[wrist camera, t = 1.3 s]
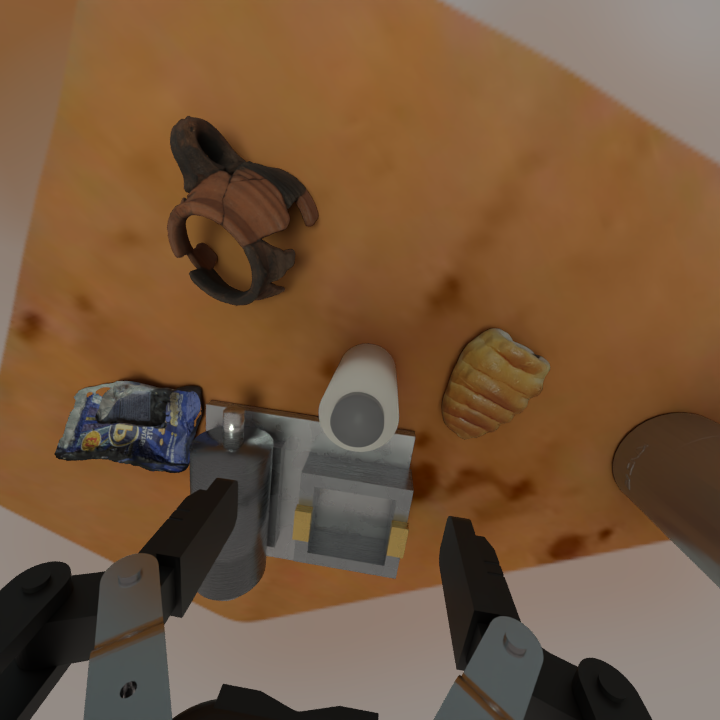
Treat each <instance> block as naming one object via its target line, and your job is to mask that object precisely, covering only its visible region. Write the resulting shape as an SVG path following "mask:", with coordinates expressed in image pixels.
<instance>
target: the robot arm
mask: <svg viewBox="0 0 720 720" xmlns="http://www.w3.org/2000/svg"><path fill="white" fill-rule="evenodd" d="M613 475H614V478H615V482H616V483H617V485H618V487H619V488H620V490H621V491H622V492H623V493H624V494H625V495H626V496H627V497H628V498H629V499H630V500H631V501H632V502H633V503H634V504H635V505H636V506H637V507H638V508H639V509H640V510H641V511H642V512H643V513H644V514H645V515H646V516H647V517H648V518H649V519H650V520H651V521H652V522H653V523H654V524H655V525H656V526H657V527H658V528H659V529H660V530H661V531H662V532H663V533H664V534H665V535H666V536H667V537H668V538H669V539H670V540H671V541H672V542H673V543H674V544H676V546H677V547H678V548H680V550H681V551H682V552H683V553H685V554H686V555H687V556H688V557H689V558H690V559H691V560H692V561H693V562H694V563H695V564H696V565H697V566H698V567H699V568H700V569H701V570H702V571H703V572H704V573H705V574H706V575H707V576H708V577H709V578H710V579H711V580H712V581H713V582H714V583H715V584H716V585H717V586H718V587H719V588H720V424H718V423H716V422H714V421H712V420H710V419H708V418H705V417H703V416H700V415H697V414H690V413H671V414H666V415H661V416H658V417H656V418H653V419H650V420H648V421H646V422H644V423H643V424H641V425H639V426H638V427H636V428H635V429H634V430H633V431H632V432H630V433H629V434H628V435H627V436H626V437H625V439H624V440H623V441H622V442H621V444H620V445H619V447H618V449H617V451H616V453H615V457H614V461H613ZM237 515H238V481H237V480H230V479H224V478H216V479H215V480H214V481H213V483H212V484H211V485H210V486H209V488H208V489H207V490H202V489H199V490H197V491H196V492H194V493H193V494H191V495H189V496H188V497H186V498H185V499H184V501H183V502H182V503H181V504H180V505H179V506H178V508H177V510H175V511H174V512H173V513H172V515H171V516H170V517H169V519H167V520H166V522H165V523H164V524H163V525H162V526H161V527H160V528H159V530H158V531H157V532H156V533H155V534H154V535H153V537H152V538H151V539H150V540H149V541H148V542H147V544H146V545H145V546H144V547H143V548H142V549H141V551H140V552H139V553H138V554H133V555H129V556H126V557H124V558H122V559H120V560H118V561H117V562H115V563H114V564H113V565H111V566H110V567H109V568H108V569H107V570H106V571H104V572H98V573H89V574H81V575H73V576H71V569H70V567H69V566H68V565H67V564H66V563H63V562H56V561H55V562H47V563H43V564H39V565H37V566H34V567H32V568H30V569H27V570H26V571H24V572H22V573H21V574H19V575H18V576H16V577H15V578H14V579H13V580H11V581H10V582H9V583H8V584H7V585H6V586H5V587H3V588H2V589H1V590H0V720H30V719H31V718H32V716H33V715H34V714H35V712H36V711H37V710H38V708H39V707H40V705H41V704H42V703H43V701H44V700H45V699H46V697H47V696H48V694H49V693H50V691H51V690H52V689H53V688H54V686H55V685H56V683H57V682H58V681H59V680H60V678H61V677H62V675H63V674H64V673H65V671H66V670H67V668H68V667H69V666H70V665H71V663H76V662H81V661H87V660H89V668H88V678H87V689H86V700H85V710H84V720H378V713H374V712H369V711H363V710H358V709H353V708H347V707H342V706H336V707H329V708H322V709H315V710H308V711H302V712H301V711H300V712H298V711H295V710H293V709H291V708H289V707H287V706H286V705H284V704H282V703H280V702H279V701H277V700H275V699H274V698H272V697H270V696H268V695H267V694H265V693H263V692H261V691H258V690H253V689H248V688H242V687H237V686H232V685H227V684H223V685H222V688H221V690H220V693H219V695H218V698H217V699H215V700H210V701H207V702H203V703H200V704H198V705H195V706H193V707H191V708H189V709H187V710H185V711H183V712H182V713H180V714H178V715H177V716H175V717H174V718H173V719H172V712H171V700H170V689H169V677H168V665H167V653H166V641H165V630H164V624H165V623H166V621H167V620H168V618H169V616H175V617H180V618H182V617H183V615H184V613H185V612H186V610H187V609H188V607H189V605H190V604H191V602H192V600H193V598H194V597H195V595H196V593H197V591H198V590H199V588H200V586H201V585H202V583H203V581H204V579H205V578H206V576H207V574H208V573H209V571H210V569H211V567H212V566H213V564H214V562H215V561H216V559H217V557H218V555H219V554H220V552H221V550H222V549H223V547H224V545H225V543H226V542H227V540H228V538H229V536H230V535H231V533H232V531H233V529H234V527H235V524H236V520H237ZM439 566H440V573H441V579H442V585H443V591H444V597H445V602H446V608H447V615H448V621H449V627H450V633H451V639H452V645H453V651H454V657H455V663H456V669H457V670H463V671H464V673H463V674H462V676H460V675H459V676H458V677H457V679H456V680H455V682H454V684H453V685H452V687H451V689H450V691H449V693H448V694H447V696H446V698H445V700H444V702H443V703H442V706H441V707H440V709H439V711H438V712H437V714H436V716H435V718H434V720H652V719H651V716H650V715H649V713H648V711H647V709H646V707H645V705H644V704H643V701H642V700H641V698H640V696H639V694H638V692H637V691H636V689H635V688H634V687H633V685H632V684H631V683H630V682H629V681H628V679H627V678H626V677H624V675H623V674H621V673H620V672H619V671H618V670H617V669H615V668H614V667H613V666H611V665H609V664H608V663H606V662H604V661H602V660H599V659H596V658H586V659H583V660H582V661H581V662H580V664H579V666H578V667H577V666H575V665H573V664H571V663H569V662H567V661H565V660H563V659H561V658H559V657H557V656H555V655H553V654H551V653H549V652H547V651H546V650H545V649H543V648H542V647H541V645H540V643H539V641H538V639H537V638H536V636H535V635H534V634H533V633H532V632H531V631H530V629H529V628H528V627H526V626H525V625H524V624H523V623H521V621H520V618H519V616H518V613H517V610H516V607H515V605H514V602H513V599H512V596H511V594H510V591H509V588H508V585H507V583H506V580H505V577H503V575H504V574H503V572H502V569H501V566H499V561H498V558H497V555H496V553H495V550H494V548H493V547H492V546H491V545H490V543H489V542H488V541H487V540H486V538H485V537H482V536H476V535H475V532H474V529H473V526H472V523H471V520H470V519H465V518H459V517H453V516H449V517H448V519H447V523H446V527H445V531H444V535H443V539H442V543H441V547H440V554H439Z"/></svg>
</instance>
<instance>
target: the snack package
mask: <svg viewBox="0 0 720 720" xmlns="http://www.w3.org/2000/svg"><path fill="white" fill-rule="evenodd" d="M102 387H110V388H111V389H110V390H108V391H107V393H106V392H105V394H104V395H103V397H101V396H100V395H98V394H96V393H95V392H96V391H97V390H98V389H99V388H102ZM88 392H93V395H91V396H89V397H88V398H87V396H86V395H87V393H88ZM74 398H75V400H76V402H75V406H74V408H75V409H73V410H72V412H70V414H71V415H69V416H70V417H69V418H68V421H67V424H66V428H65V431H64V434H63V437H62V438H61V439H60V440H59V443H58V446H57V449H56V452H55V455H56V458H58V459H63V460H66V461H71V460H72V461H73V460H75V461H76V460H87V459H109V460H112V461H114V462H119V463H125V464H131V465H133V466H140V467H142V468H145V469H146V470H149V471H162V472H163V471H166V472H169V473H179V472H182V471H184V470H186V469H187V467H188V466H189V463H190V445H191V443H192V441H193V439H194V436H195V434H196V430H197V427H198V424H199V422H200V420H201V416H202V414H201V415H200V416H199V418H198V419H197V421H196V427H194V420H195V419H196V417H197V415H198V413H199V412H200V406H201V408H202V402H201V388H200V387H198V386H185V387H180V388H177V389H170V388H158V387H155V386H150V385H146V384H142V383H138V382H133V381H116V382H115V383H111V384H102V385H99V386H95V387H88V388H84V389H82V390H79V391H78V393H77V394H76V396H74ZM200 404H201V405H200ZM201 412H202V410H201Z"/></svg>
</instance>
